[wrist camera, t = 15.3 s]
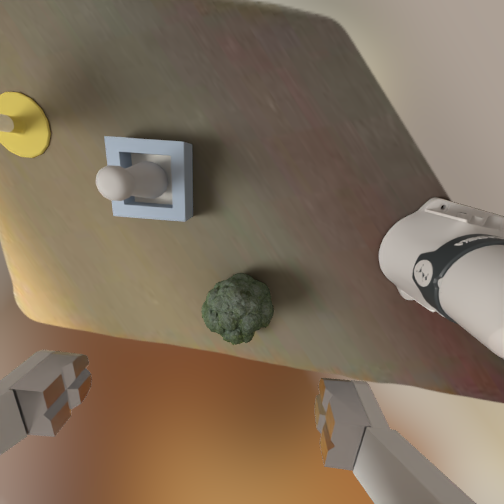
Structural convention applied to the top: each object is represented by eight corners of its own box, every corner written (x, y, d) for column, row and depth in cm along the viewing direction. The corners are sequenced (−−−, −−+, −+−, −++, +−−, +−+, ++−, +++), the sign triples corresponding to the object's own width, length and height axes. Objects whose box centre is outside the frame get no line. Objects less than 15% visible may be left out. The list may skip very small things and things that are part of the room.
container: (192, 144, 41) (183, 141, 37) (193, 216, 45) (185, 221, 41) (121, 139, 41) (104, 136, 37) (127, 211, 45) (113, 215, 41)
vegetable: (202, 337, 51) (179, 294, 40) (244, 295, 57) (234, 248, 46) (246, 377, 44) (233, 337, 34) (288, 324, 50) (287, 278, 40)
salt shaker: (179, 184, 42) (143, 190, 30) (155, 203, 43) (110, 217, 31) (156, 153, 41) (108, 147, 28) (131, 175, 42) (76, 178, 30)
